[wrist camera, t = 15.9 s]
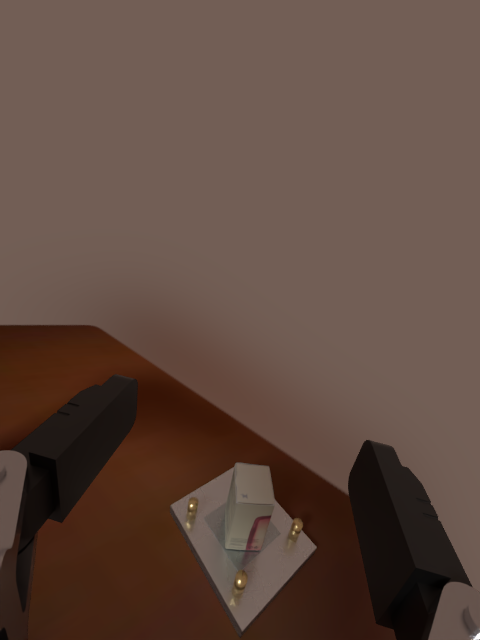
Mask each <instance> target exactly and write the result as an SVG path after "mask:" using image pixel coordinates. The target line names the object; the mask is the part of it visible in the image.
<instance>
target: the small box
mask: <svg viewBox="0 0 480 640" xmlns="http://www.w3.org/2000/svg"><path fill="white" fill-rule="evenodd" d="M274 506H275V499H274V492H273V485H272V479H271V474H270V469H269V466H263V465H255V464H245V463H235V467H234V471H233V475H232V480H231V484H230V489H229V494H228V498H227V502H226V507H225V548H226V549H235V550H261V548H262V545H263V542H264V538H265V535H266V532H267V528H268V525H269V522H270V519H271V516H272V513H273V510H274Z"/></svg>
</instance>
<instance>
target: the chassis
mask: <svg viewBox="0 0 480 640" xmlns="http://www.w3.org/2000/svg"><path fill="white" fill-rule="evenodd" d="M233 471H234V467H233V468H232V469H230V470H228V471H227V472H225V473H223V474H222V475H220V476H218V477H217V478H215V479H213V480H212V481H210V482H208V483H207V484H205V485H203V486H202V487H200V488H199V489H197V490H195V491H194V492H192V493H190V494H189V495H187V496H185V497H184V498H182V499H180V500H179V501H177V502H175V503H174V504H172V505H170V513H171V515H172V517H173V519H174V520H175V522H176V524H177V526H178V527H179V529H180V531H181V533H182V535H183V536H184V538H185V540H186V542H187V544H188V545H189V547H190V549H191V551H192V553H193V554H194V556H195V558H196V560H197V562H198V563H199V565H200V567H201V569H202V571H203V572H204V574H205V576H206V578H207V580H208V581H209V583H210V585H211V587H212V588H213V590H214V592H215V594H216V596H217V597H218V599H219V601H220V603H221V605H222V606H223V608H224V610H225V612H226V614H227V615H228V617H229V619H230V621H231V623H232V624H233V626H234V628H235V630H236V632H237V633H238V635H239V637H241V636H242V635H243V634H244V633H245V632H246V630H247V629H248V628H249V627H250V626H251V625H252V624H253V622H254V621H255V620H256V619H257V618H258V617H259V616H260V614H261V613H262V612H263V611H264V610H265V609H266V608H267V606H268V605H269V604H270V603H271V602H272V601H273V600H274V598H275V597H276V596H277V595H278V594H279V593H280V592H281V590H282V589H283V588H284V587H285V586H286V585H287V584H288V582H289V581H290V580H291V579H292V578H293V577H294V576H295V574H296V573H297V572H298V571H299V570H300V569H301V568H302V566H303V565H304V564H305V563H306V562H307V561H308V560H309V558H310V557H311V556H312V555H313V554H314V552H315V550H316V548H317V547H316V546H315V545H314V544H313V542H312V541H311V540H310V539H309V538H308V537H307V536H306V534H305V533H304V532H303V531H302V527H303V522H302V521H301V519H299V518H295V519H294V520H292V519H291V517H290V516H289V515H288V514H287V513H286V512H285V511H284V509H283V508H282V507H281V506H280V505H279V504H278V503H277V502H276V500H275V506H274V510H273V513H272V516H271V519H270V522H269V525H268V528H267V532H266V535H265V538H264V542H263V545H262V548H261V550H235V549H226V548H225V507H226V502H227V498H228V494H229V489H230V484H231V480H232V475H233Z"/></svg>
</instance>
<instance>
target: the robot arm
mask: <svg viewBox="0 0 480 640" xmlns="http://www.w3.org/2000/svg"><path fill="white" fill-rule="evenodd" d="M137 390H138V382H137V380H136V379H132V378H129V377H125V376H121V375H117V374H115V375H113V376H112V377H111V378H109V379H108V380H107V381H106V382H105V383H104V384H103V385H102V386H99V385H94V386H92V387H89V388H87V389H85V390H83V391H81V392H79V393H78V394H77V395H76V396H74V397H73V398H72V399H71V400H70V401H69V402H68V403H67V404H65V405H64V406H63V407H61V408H60V409H59V410H58V411H57V413H54V414H53V415H52V416H51V417H50V418H48V419H47V420H46V421H45V422H44V423H42V424H41V425H40V426H39V427H38V428H37V429H35V430H34V431H33V432H32V433H31V434H29V435H28V436H27V437H26V438H25V439H23V440H22V441H21V442H20V443H19V444H18V445H16V446H15V447H14V448H13V449H11V450H5V451H0V640H28V619H29V609H30V600H31V591H32V582H33V573H34V564H35V555H36V546H37V537H38V532H37V531H38V530H39V529H40V528H41V526H42V525H43V524H44V523H45V521H46V520H47V519H51V520H54V521H58V522H61V523H62V522H63V521H64V519H65V518H66V517H67V515H68V514H69V513H70V511H71V510H72V509H73V507H74V506H75V504H76V503H77V502H78V500H79V499H80V498H81V496H82V495H83V494H84V492H85V491H86V490H87V488H88V487H89V486H90V484H91V483H92V482H93V480H94V479H95V477H96V476H97V475H98V473H99V472H100V471H101V469H102V468H103V467H104V465H105V464H106V463H107V461H108V460H109V459H110V457H111V456H112V455H113V453H114V452H115V450H116V449H117V448H118V446H119V445H120V444H121V442H122V441H123V440H124V438H125V437H126V436H127V434H128V433H129V432H130V430H131V428H132V426H133V424H134V421H135V418H136V411H137ZM348 490H349V497H350V501H351V506H352V511H353V516H354V520H355V525H356V530H357V535H358V539H359V544H360V549H361V554H362V558H363V563H364V568H365V573H366V577H367V582H368V587H369V592H370V596H371V601H372V606H373V611H374V615H375V620H376V624H378V625H381V626H384V627H388V628H391V629H394V631H395V635H396V639H397V640H480V592H479V591H477V590H476V589H474V588H473V587H472V585H471V583H470V581H469V579H468V577H467V575H466V573H465V571H464V569H463V567H462V565H461V563H460V561H459V559H458V557H457V554H456V552H455V550H454V548H453V546H452V544H451V542H450V540H449V538H448V536H447V534H446V532H445V530H444V528H443V526H442V524H441V522H440V521H438V516H437V514H436V512H435V510H434V508H433V506H432V505H431V504H430V503H431V501H430V499H429V497H428V495H427V493H426V491H425V489H424V487H423V485H422V484H421V483H420V481H419V480H418V479H417V478H416V476H415V475H414V474H413V473H412V472H411V471H410V469H409V468H407V467H403V466H402V465H401V463H400V461H399V459H398V457H397V454H396V452H395V450H394V448H393V447H392V446H389V445H385V444H381V443H378V442H374V441H370V440H366V441H365V442H364V443H363V445H362V448H361V450H360V452H359V454H358V456H357V459H356V461H355V463H354V465H353V467H352V470H351V472H350V476H349V481H348Z"/></svg>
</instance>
